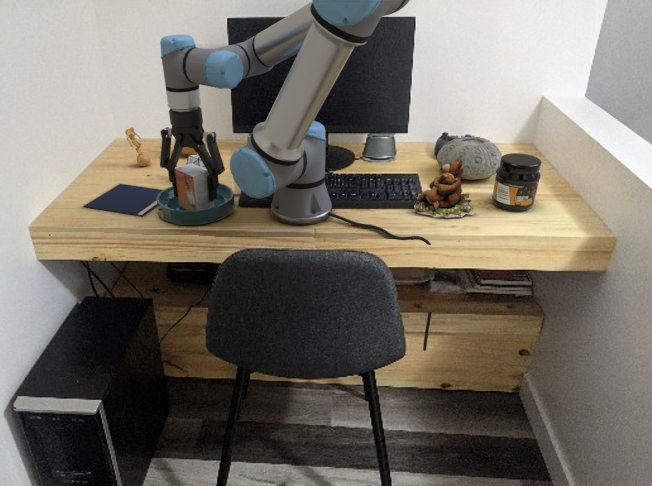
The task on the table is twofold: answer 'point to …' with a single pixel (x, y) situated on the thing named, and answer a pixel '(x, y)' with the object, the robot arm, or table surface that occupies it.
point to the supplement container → (516, 181)
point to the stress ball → (190, 149)
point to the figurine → (142, 158)
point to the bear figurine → (445, 194)
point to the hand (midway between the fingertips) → (195, 196)
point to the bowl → (179, 215)
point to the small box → (192, 187)
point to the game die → (195, 160)
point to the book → (127, 200)
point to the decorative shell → (471, 156)
